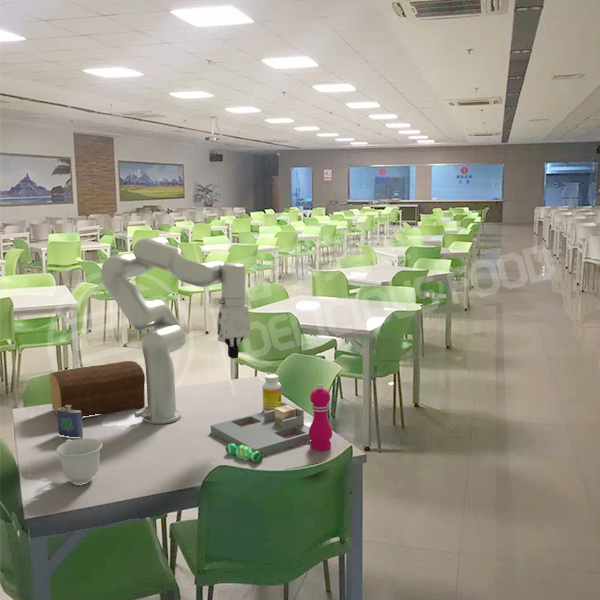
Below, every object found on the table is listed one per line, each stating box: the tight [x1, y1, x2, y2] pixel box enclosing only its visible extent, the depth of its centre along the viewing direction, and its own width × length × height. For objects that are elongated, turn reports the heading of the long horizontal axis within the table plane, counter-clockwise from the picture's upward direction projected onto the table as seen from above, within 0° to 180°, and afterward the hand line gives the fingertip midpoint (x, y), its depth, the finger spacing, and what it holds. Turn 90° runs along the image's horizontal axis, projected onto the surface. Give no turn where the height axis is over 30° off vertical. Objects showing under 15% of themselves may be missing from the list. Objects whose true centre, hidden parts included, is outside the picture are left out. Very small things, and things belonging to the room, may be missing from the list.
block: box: [275, 405, 296, 426], centre depth 219 cm, size 5×5×5 cm
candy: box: [225, 442, 264, 464], centre depth 198 cm, size 12×3×4 cm
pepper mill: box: [309, 383, 333, 452], centre depth 203 cm, size 7×7×20 cm
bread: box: [49, 360, 146, 417], centre depth 242 cm, size 18×30×16 cm, turn 121°
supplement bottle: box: [262, 373, 282, 412], centre depth 238 cm, size 7×7×13 cm
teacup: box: [55, 438, 103, 484], centre depth 184 cm, size 12×15×10 cm
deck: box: [210, 401, 311, 456], centre depth 215 cm, size 24×26×8 cm
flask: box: [56, 405, 84, 438], centre depth 215 cm, size 9×3×11 cm, turn 68°
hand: (233, 357), depth 218 cm, fingers closed
